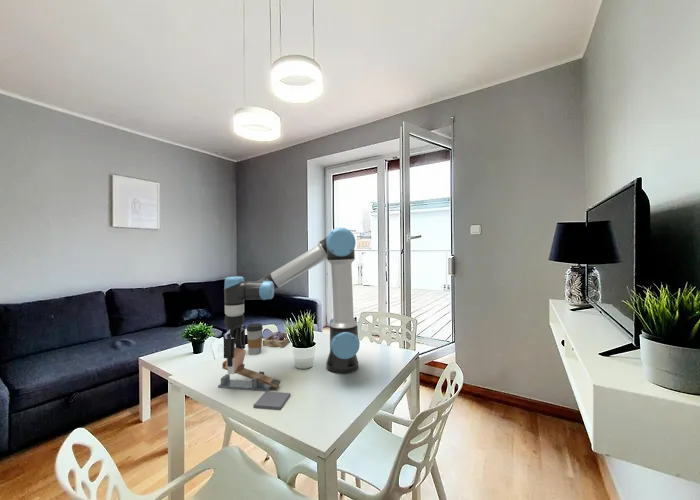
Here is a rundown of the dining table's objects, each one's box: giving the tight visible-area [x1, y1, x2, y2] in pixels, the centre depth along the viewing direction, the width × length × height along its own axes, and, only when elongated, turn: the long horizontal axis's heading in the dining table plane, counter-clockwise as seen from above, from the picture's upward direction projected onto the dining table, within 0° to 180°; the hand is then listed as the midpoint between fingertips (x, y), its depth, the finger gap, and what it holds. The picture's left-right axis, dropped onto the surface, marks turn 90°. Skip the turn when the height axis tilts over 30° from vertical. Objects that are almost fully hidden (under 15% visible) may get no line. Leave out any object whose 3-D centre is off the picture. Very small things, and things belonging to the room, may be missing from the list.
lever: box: [221, 360, 282, 389], centre depth 120 cm, size 24×5×3 cm, turn 81°
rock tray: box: [262, 331, 290, 349], centre depth 175 cm, size 12×16×4 cm
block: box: [225, 346, 247, 371], centre depth 121 cm, size 5×5×7 cm
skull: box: [271, 330, 284, 341], centre depth 174 cm, size 12×8×6 cm, turn 172°
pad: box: [253, 391, 292, 411], centre depth 108 cm, size 10×10×1 cm
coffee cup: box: [246, 322, 264, 356], centre depth 158 cm, size 8×8×15 cm
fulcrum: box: [217, 371, 274, 392], centre depth 120 cm, size 22×7×5 cm, turn 81°
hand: (235, 370), depth 121 cm, fingers closed on block, 5 cm apart
